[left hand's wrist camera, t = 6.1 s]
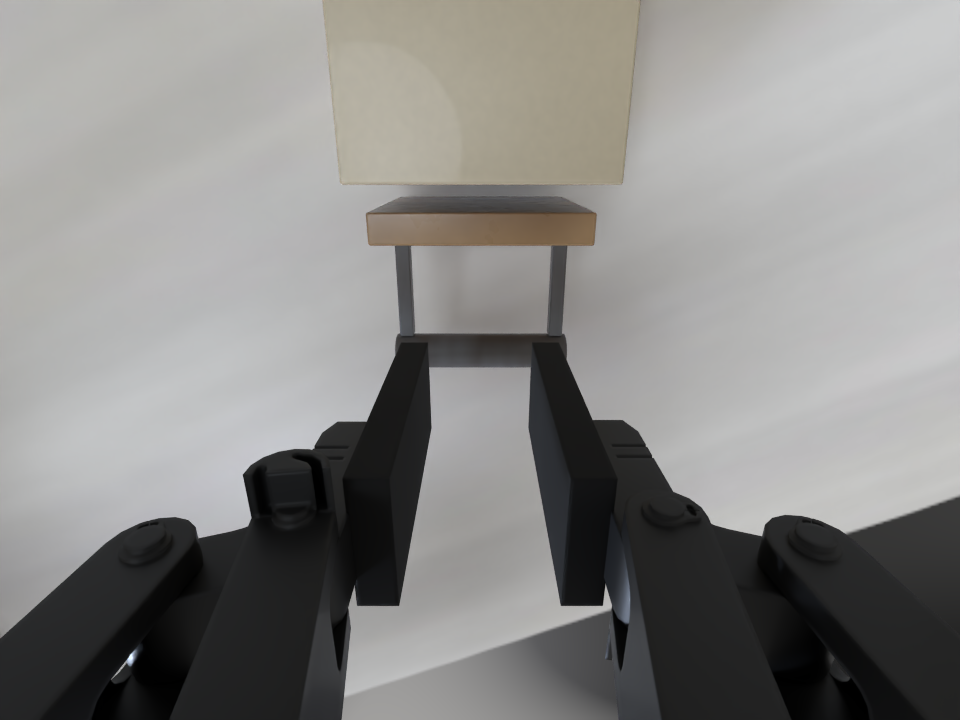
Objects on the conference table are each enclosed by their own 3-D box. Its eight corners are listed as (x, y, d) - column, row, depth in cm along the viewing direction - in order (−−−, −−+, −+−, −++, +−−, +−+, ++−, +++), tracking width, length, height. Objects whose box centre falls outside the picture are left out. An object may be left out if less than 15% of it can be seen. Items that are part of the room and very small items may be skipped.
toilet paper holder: (555, 326, 29) (582, 388, 21) (406, 326, 29) (379, 388, 21) (583, -165, 21) (643, -357, 13) (379, -165, 21) (319, -357, 13)
